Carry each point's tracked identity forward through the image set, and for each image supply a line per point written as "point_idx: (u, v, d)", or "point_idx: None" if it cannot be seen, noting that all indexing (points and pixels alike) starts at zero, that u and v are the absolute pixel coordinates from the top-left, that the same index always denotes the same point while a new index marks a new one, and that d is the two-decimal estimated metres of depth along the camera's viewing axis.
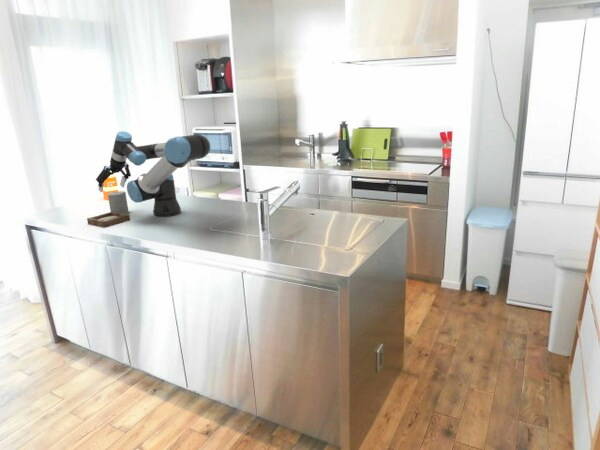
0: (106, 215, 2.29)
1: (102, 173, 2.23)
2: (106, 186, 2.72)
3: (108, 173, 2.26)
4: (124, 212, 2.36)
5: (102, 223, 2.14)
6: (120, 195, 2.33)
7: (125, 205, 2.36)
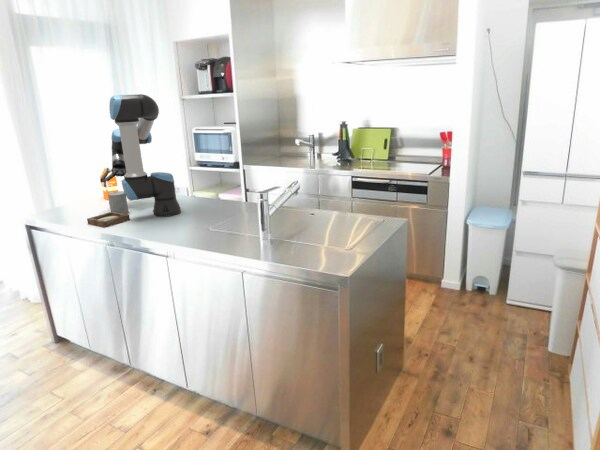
0: (106, 215, 2.29)
1: None
2: None
3: None
4: (124, 212, 2.36)
5: (102, 223, 2.14)
6: (120, 195, 2.33)
7: (125, 205, 2.36)
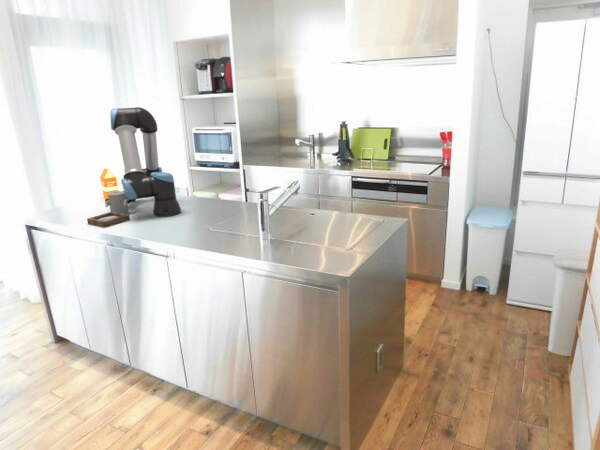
0: (106, 215, 2.29)
1: None
2: (106, 186, 2.72)
3: None
4: (124, 212, 2.36)
5: (102, 223, 2.14)
6: (120, 195, 2.33)
7: None
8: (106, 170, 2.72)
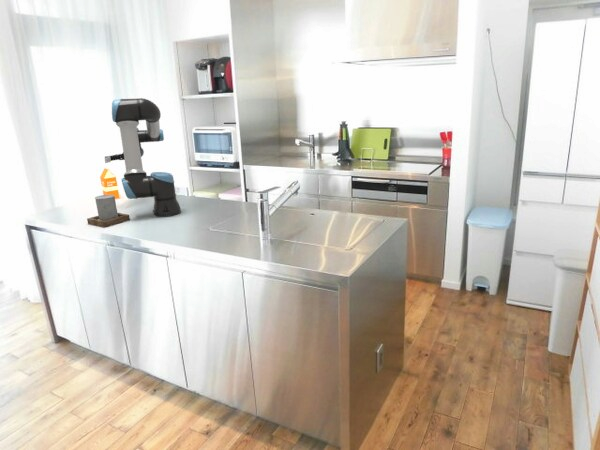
0: None
1: None
2: (106, 186, 2.72)
3: None
4: (113, 217, 2.21)
5: (102, 223, 2.14)
6: (109, 199, 2.17)
7: (114, 209, 2.21)
8: (106, 170, 2.72)
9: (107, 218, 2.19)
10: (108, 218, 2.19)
